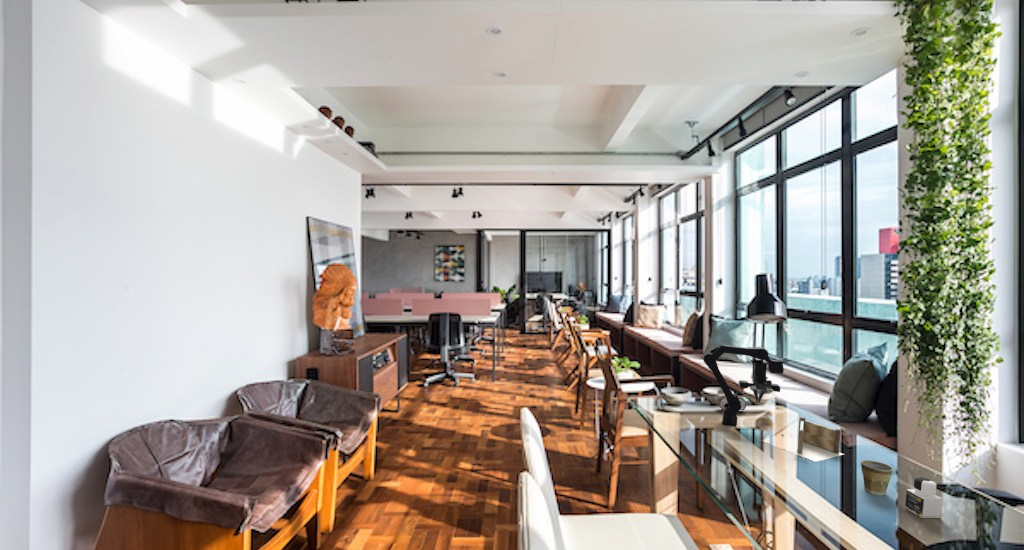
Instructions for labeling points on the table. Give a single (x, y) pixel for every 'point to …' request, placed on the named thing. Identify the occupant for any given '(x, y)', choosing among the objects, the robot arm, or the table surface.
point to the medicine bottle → (924, 498)
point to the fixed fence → (821, 435)
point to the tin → (723, 401)
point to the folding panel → (800, 438)
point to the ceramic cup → (876, 476)
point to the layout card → (816, 452)
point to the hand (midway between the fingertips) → (757, 402)
